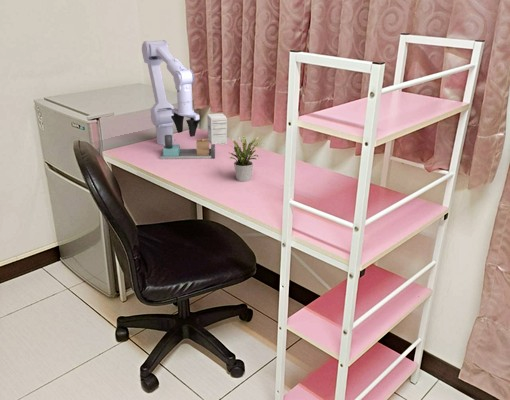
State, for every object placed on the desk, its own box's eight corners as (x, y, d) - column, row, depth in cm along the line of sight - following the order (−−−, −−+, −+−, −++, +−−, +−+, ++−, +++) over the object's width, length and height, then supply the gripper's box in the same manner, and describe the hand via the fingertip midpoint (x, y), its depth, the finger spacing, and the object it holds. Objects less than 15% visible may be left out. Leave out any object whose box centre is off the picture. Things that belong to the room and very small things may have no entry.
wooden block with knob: (197, 152, 209) (196, 137, 207) (209, 152, 210) (208, 137, 207) (196, 156, 205) (196, 141, 202) (209, 156, 205) (208, 141, 202)
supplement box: (207, 141, 227) (206, 113, 222) (223, 139, 230) (223, 112, 224) (211, 146, 221) (210, 118, 216) (227, 144, 223) (227, 116, 218)
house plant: (270, 174, 190) (271, 132, 184) (260, 187, 178) (261, 143, 171) (234, 170, 194) (234, 129, 187) (222, 183, 182) (222, 139, 175)
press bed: (162, 153, 211) (162, 144, 209) (215, 152, 212) (214, 143, 211) (160, 161, 202) (159, 152, 200) (215, 160, 203) (214, 151, 202)
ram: (165, 151, 210) (164, 133, 206) (179, 151, 210) (178, 132, 207) (163, 157, 202) (162, 138, 199) (178, 157, 203) (177, 138, 199)
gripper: (204, 102, 196) (205, 135, 202) (180, 96, 205) (182, 128, 210) (191, 105, 191) (192, 139, 197) (166, 99, 200) (168, 132, 205)
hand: (186, 134), depth 203 cm, fingers open, 7 cm apart
